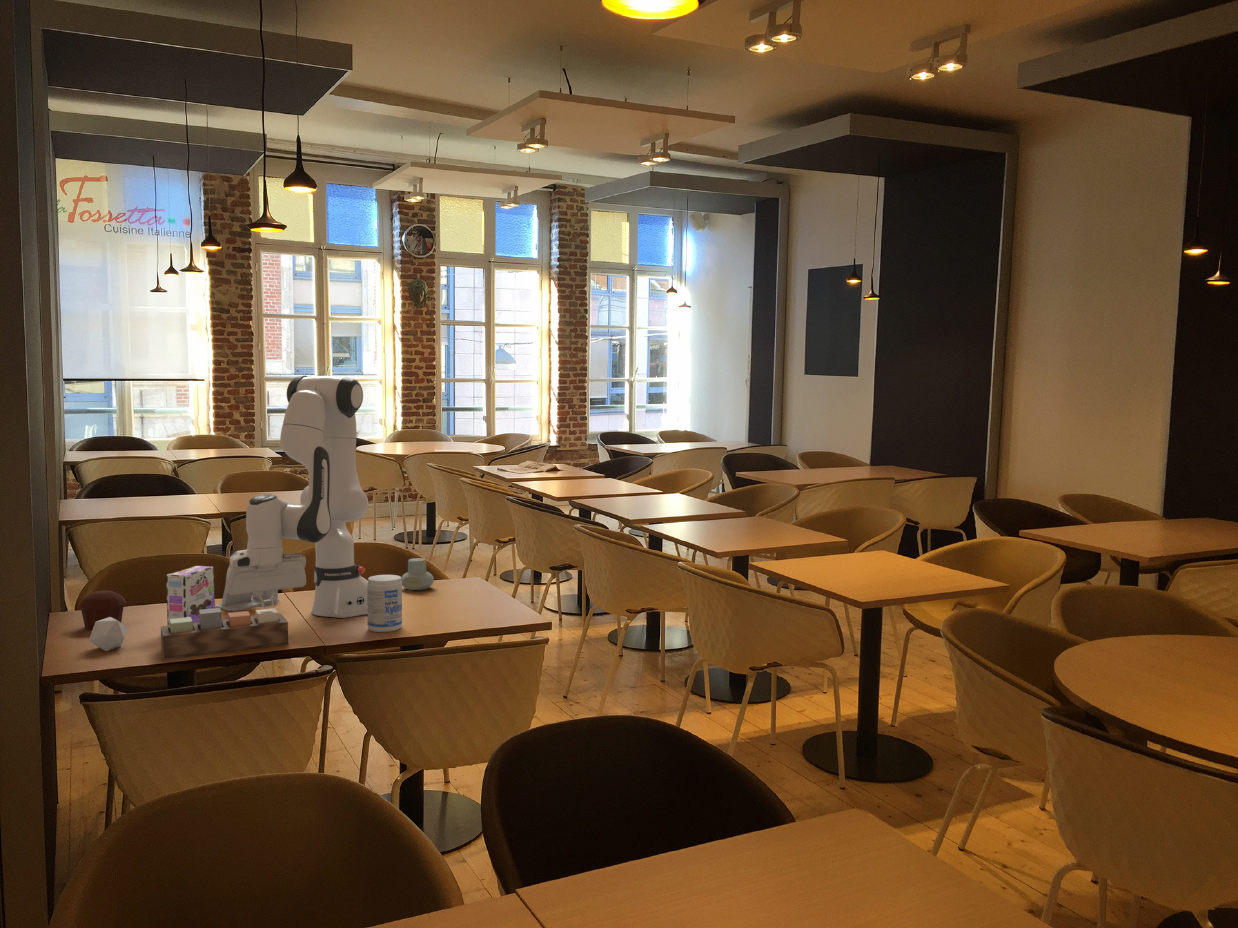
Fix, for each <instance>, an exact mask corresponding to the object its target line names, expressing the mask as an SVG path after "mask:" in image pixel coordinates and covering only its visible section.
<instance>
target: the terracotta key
mask: <svg viewBox="0 0 1238 928" xmlns="http://www.w3.org/2000/svg"><path fill="white" fill-rule="evenodd" d="M250 617H251V614H250V612H249V610H245V611H243V610H242V611H232V612H227V619H228V627H231V626H240V625H249V624H251V618H250Z"/></svg>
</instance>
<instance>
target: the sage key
mask: <svg viewBox="0 0 1238 928" xmlns="http://www.w3.org/2000/svg"><path fill="white" fill-rule="evenodd" d="M185 631H193V622H192V619H191V617H185V618H175V619H170V633H176V632H185Z"/></svg>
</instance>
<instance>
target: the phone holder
mask: <svg viewBox="0 0 1238 928" xmlns="http://www.w3.org/2000/svg"><path fill="white" fill-rule="evenodd" d="M245 550H246V549H243V550H242V549H241V550H237V551H235V552H233V553H232V554H231V556H233V555H235V554H238V553H240V552H243V551H245ZM230 566H231V564H230V563H229V564H228V568H229V567H230ZM278 591H279V590H277V593H279V592H278ZM271 596H272V593H271V591H263V595H261V597H262V598H263V600H268V599H270V598H271ZM273 601H274V603H278V602H279V603H280V598H279V594H277V596H276V597H275V599H274V600H273ZM256 607H262V606H261V600H260V599H259V597H258V596H257V594H256V592H253V593H244V594H235V595H230V594H228V593H227V591H226V583H225V586H224V590H223V595H222V600H221V603H217V604H216V603H215V608H220V610H224V611H229V612H240V611H243V610H247V609H251V608H256Z"/></svg>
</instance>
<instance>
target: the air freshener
mask: <svg viewBox="0 0 1238 928" xmlns="http://www.w3.org/2000/svg"><path fill="white" fill-rule="evenodd" d="M407 561H408V562H407V572H405V573H403V575H402V576H400V577H401V581H402V588H404V589H407V590H409V591H411V590H420V591H425V590H426V589H429V588H430V587H431V586H433V584H434V581H435V577H434V576H433V574H431V573H430V571H427V559H425V558H422V557H421V558H420V557H417V558H415V557H414V558H409V559H408V560H407Z"/></svg>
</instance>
